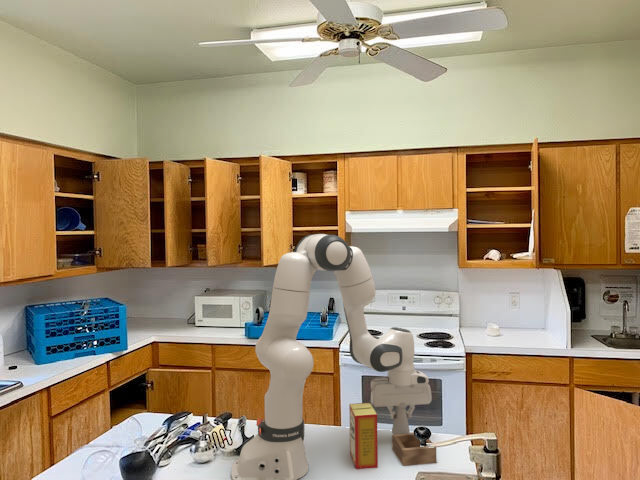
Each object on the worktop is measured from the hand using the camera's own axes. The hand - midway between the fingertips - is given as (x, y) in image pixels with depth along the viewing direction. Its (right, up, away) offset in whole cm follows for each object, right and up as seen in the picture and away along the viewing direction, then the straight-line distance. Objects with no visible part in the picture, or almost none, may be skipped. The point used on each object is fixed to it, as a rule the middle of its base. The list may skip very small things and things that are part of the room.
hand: (401, 417), depth 148 cm
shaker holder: (+2, -7, -11) cm, 13 cm away
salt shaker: (0, -7, 0) cm, 7 cm away
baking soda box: (-14, -8, -13) cm, 20 cm away
